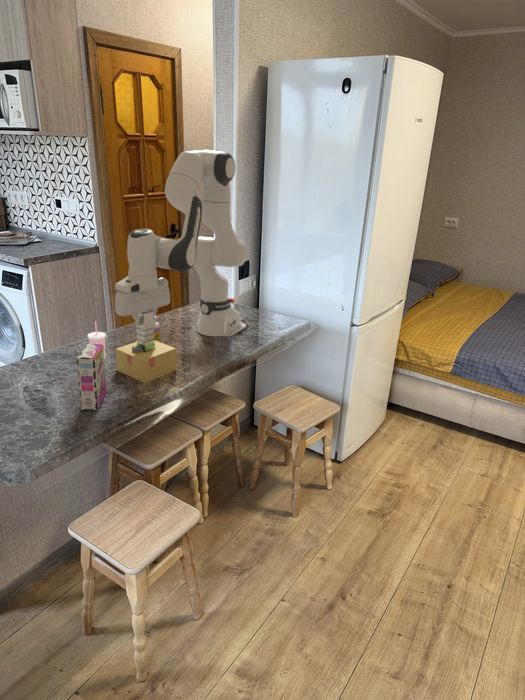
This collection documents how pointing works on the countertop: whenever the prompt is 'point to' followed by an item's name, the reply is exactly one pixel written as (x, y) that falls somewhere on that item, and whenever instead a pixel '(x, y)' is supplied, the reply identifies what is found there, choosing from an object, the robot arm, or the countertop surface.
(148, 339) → the column
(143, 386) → the countertop surface
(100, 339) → the beverage cup
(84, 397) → the candy bar box
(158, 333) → the supplement bottle
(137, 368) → the housing
